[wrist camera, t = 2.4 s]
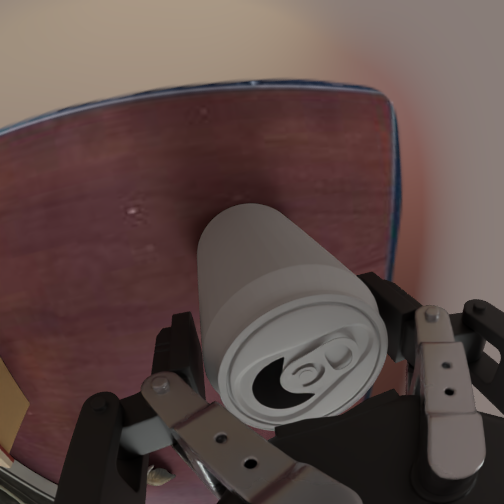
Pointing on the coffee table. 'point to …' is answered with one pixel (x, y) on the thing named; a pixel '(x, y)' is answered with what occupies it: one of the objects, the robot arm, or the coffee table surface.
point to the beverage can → (283, 321)
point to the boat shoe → (25, 486)
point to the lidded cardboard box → (9, 413)
